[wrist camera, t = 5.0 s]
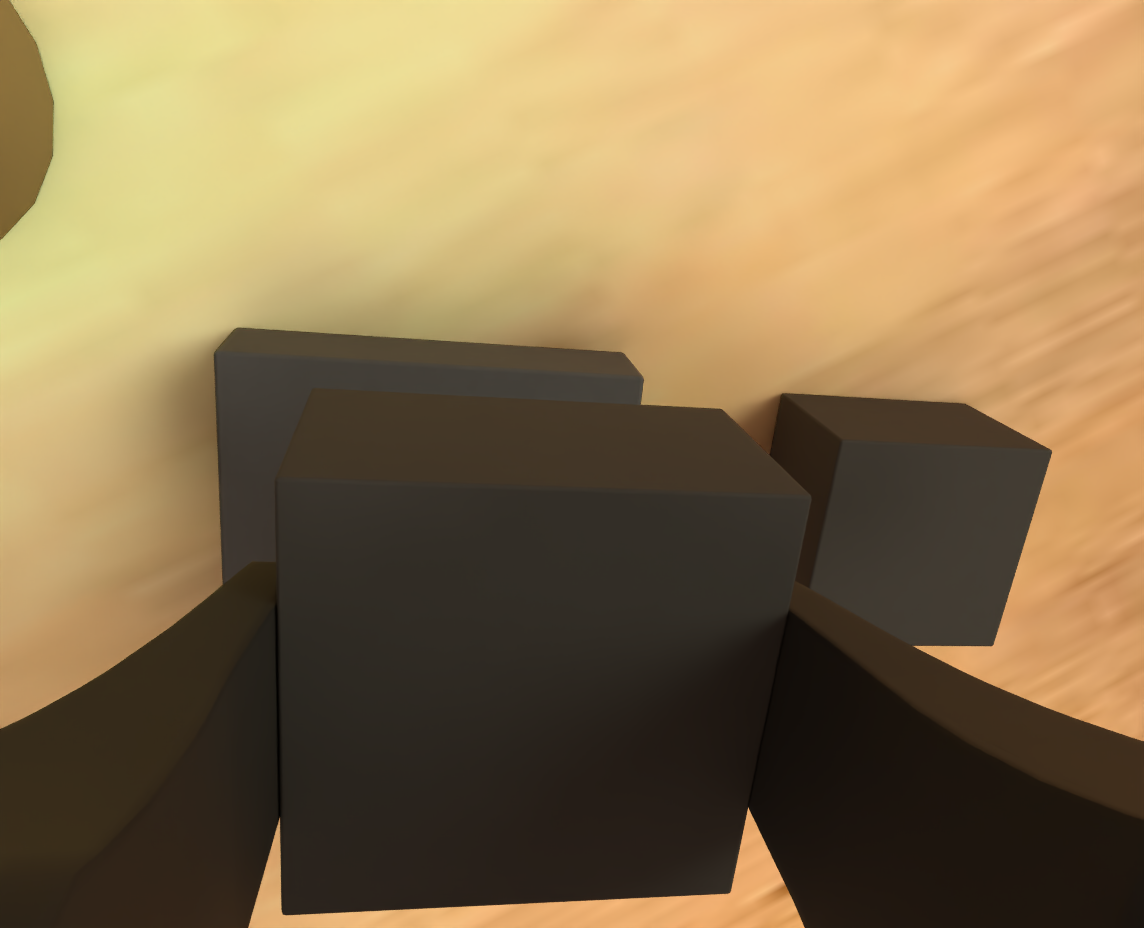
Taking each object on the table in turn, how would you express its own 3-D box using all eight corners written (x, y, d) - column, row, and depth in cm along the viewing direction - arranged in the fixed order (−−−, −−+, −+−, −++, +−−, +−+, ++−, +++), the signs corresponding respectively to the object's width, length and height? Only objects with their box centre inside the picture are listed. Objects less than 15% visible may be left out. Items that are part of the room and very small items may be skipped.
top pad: (920, 577, 23) (993, 647, 20) (746, 574, 22) (796, 646, 19) (966, 403, 21) (1053, 450, 18) (780, 392, 20) (841, 439, 17)
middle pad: (668, 737, 15) (731, 895, 12) (312, 744, 14) (281, 917, 11) (723, 407, 13) (814, 496, 10) (311, 386, 12) (273, 477, 9)
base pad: (585, 669, 22) (599, 719, 20) (245, 668, 21) (227, 722, 19) (624, 351, 19) (645, 376, 17) (234, 326, 18) (212, 350, 16)
